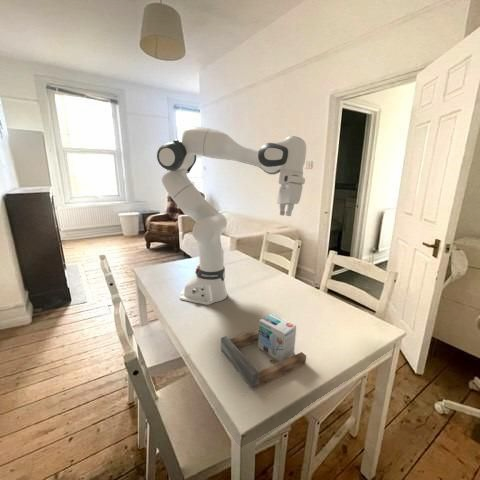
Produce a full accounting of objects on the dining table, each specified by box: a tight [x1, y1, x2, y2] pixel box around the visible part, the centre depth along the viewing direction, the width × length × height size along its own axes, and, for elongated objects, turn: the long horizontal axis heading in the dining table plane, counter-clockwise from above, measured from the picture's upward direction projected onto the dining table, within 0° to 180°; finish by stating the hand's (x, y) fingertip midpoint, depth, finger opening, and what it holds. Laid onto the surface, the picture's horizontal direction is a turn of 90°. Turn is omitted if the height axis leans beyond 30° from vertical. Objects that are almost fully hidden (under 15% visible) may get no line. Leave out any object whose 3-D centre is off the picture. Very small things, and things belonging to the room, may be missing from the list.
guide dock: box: [220, 328, 307, 391], centre depth 86 cm, size 20×19×5 cm
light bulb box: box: [257, 312, 297, 362], centre depth 88 cm, size 11×7×11 cm, turn 45°
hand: (284, 215), depth 106 cm, fingers open, 8 cm apart
